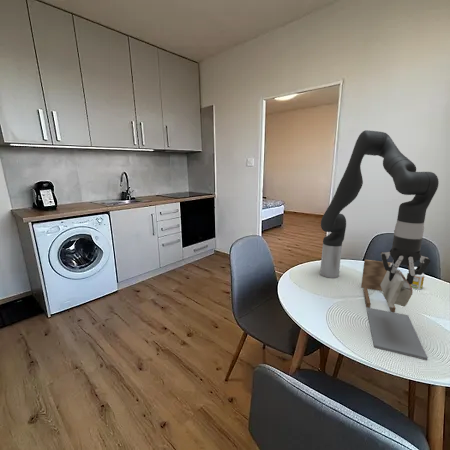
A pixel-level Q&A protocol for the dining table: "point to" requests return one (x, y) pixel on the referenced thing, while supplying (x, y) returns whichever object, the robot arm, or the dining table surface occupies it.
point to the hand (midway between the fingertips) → (400, 283)
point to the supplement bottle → (417, 281)
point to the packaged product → (396, 289)
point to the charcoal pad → (394, 333)
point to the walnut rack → (373, 278)
